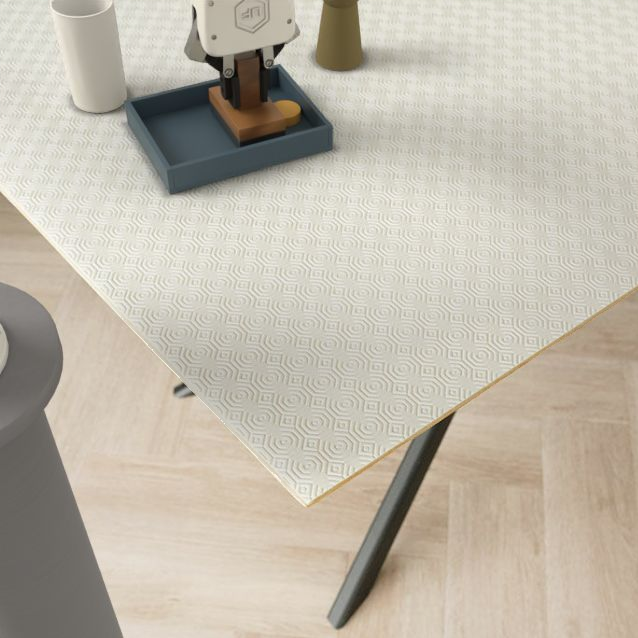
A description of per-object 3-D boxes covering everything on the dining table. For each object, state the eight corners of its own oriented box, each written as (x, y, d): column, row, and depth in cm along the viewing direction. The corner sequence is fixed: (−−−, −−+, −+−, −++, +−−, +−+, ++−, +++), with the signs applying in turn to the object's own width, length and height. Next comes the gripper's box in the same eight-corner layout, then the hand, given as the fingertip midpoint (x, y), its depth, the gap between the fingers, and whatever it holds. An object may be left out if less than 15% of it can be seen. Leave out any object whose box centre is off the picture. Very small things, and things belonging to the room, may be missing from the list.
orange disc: (277, 129, 103) (277, 120, 103) (264, 113, 106) (264, 104, 105) (306, 122, 105) (305, 113, 104) (292, 106, 107) (292, 97, 106)
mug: (138, 105, 107) (123, 8, 98) (83, 121, 104) (62, 23, 96) (106, 65, 113) (88, -30, 104) (53, 79, 110) (31, -17, 101)
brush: (240, 153, 100) (235, 79, 93) (210, 111, 105) (204, 38, 98) (286, 141, 102) (284, 68, 95) (254, 100, 107) (251, 28, 100)
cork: (369, 66, 114) (374, -19, 106) (324, 74, 113) (325, -12, 105) (353, 42, 118) (356, -41, 110) (308, 49, 117) (308, -35, 108)
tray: (170, 194, 96) (166, 170, 94) (127, 124, 104) (123, 100, 102) (332, 149, 102) (333, 126, 100) (280, 86, 111) (280, 63, 108)
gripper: (170, -39, 82) (189, 134, 96) (330, -67, 88) (326, 100, 101) (143, -71, 87) (165, 98, 100) (297, -97, 92) (298, 67, 106)
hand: (246, 98), depth 101 cm, fingers closed on brush, 2 cm apart
